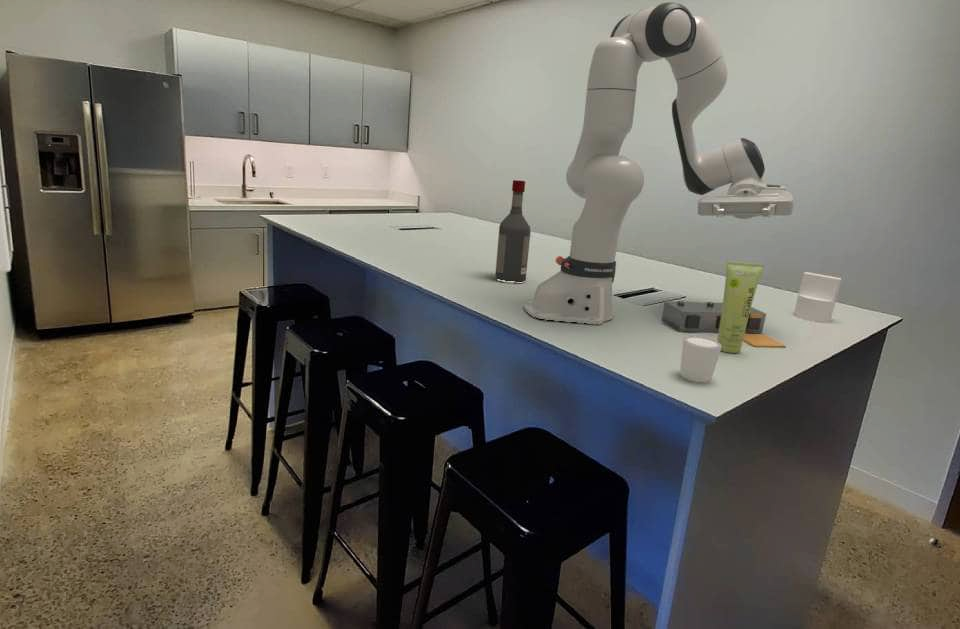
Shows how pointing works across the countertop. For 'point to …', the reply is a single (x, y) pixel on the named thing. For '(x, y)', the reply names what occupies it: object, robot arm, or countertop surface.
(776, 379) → the countertop surface
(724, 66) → the robot arm
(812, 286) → the base with upright slab
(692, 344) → the white tapered cylinder
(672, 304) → the box
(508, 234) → the liquor
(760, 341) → the pad
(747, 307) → the tube
